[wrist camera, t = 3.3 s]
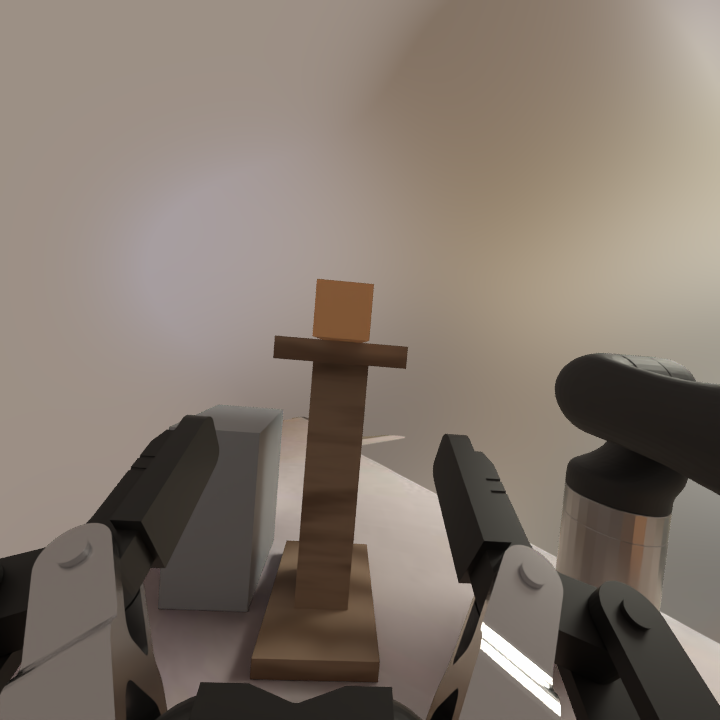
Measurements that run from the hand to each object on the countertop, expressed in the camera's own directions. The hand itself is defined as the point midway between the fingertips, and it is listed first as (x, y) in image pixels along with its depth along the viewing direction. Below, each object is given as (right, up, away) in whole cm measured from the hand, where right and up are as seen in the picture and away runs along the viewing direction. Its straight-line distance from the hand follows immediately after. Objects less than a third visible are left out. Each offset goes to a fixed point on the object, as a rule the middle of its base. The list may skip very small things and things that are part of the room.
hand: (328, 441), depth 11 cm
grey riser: (-17, -26, +30) cm, 43 cm away
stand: (-4, -27, +26) cm, 38 cm away
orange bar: (-1, +5, +20) cm, 20 cm away
